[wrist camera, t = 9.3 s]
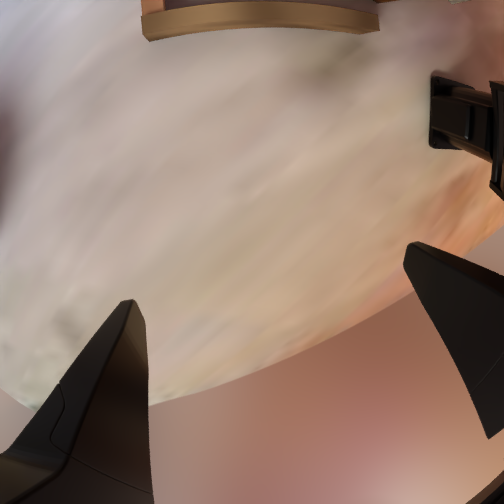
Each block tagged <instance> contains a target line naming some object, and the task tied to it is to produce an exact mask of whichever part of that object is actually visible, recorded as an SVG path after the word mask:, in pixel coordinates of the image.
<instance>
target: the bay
mask: <svg viewBox="0 0 504 504" xmlns="http://www.w3.org/2000/svg"><path fill="white" fill-rule="evenodd" d="M141 6H142V16H141V22H142V33H143V35H144V36H145V38H146V39H147V40H148V41H149V42H151V41H155V40H159V39H164V38H169V37H174V36H180V35H186V34H192V33H199V32H207V31H215V30H225V29H238V28H261V27H286V28H308V29H321V30H331V31H340V32H347V33H354V34H364V33H369V32H375V31H380V29H379V21H378V15H375V14H371V13H367V12H362V11H357V10H352V9H346V8H340V7H334V6H326V5H318V4H309V3H297V2H276V1H248V2H227V3H215V4H206V5H197V6H190V7H184V8H178V9H172V10H167V11H166V5H165V0H141Z"/></svg>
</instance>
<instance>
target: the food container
mask: <svg viewBox="0 0 504 504" xmlns="http://www.w3.org/2000/svg"><path fill="white" fill-rule="evenodd" d="M373 1H374V2H376V3H383V2H390V1H397V0H373ZM448 1H449V2H450V3H451V4H456V3H460V2H465V1H470V0H448Z"/></svg>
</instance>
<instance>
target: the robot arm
mask: <svg viewBox="0 0 504 504" xmlns="http://www.w3.org/2000/svg"><path fill="white" fill-rule="evenodd" d="M489 83H490V88H491V93H492V94H490V93H486V92H482V91H478V90H475V89H474V88H473V87H471V86H468V85H465V84H462V83H459V82H456V81H452V80H449V79H445V78H442V77H438V76H432V77H431V111H430V132H429V146H430V147H432V148H435V149H455V150H465V151H467V152H469V153H471V154H473V155H476V156H478V157H480V158H482V159H484V160H486V161H488V162H490V163H492V173H491V180H490V184H489V187H490V188H491V189H492V190H493V191H494V192H495V193H496V194H497V195H498V196H499V197H500V198H501V199H502V200H503V201H504V82H503V81H489ZM403 267H404V270H405V272H406V274H407V276H408V278H409V280H410V281H411V283H412V285H413V287H414V289H415V291H416V293H417V295H418V297H419V299H420V301H421V303H422V305H423V306H424V308H425V310H426V312H427V313H428V315H429V317H430V318H431V320H432V322H433V323H434V325H435V327H436V329H437V331H438V332H439V334H440V336H441V338H442V340H443V341H444V343H445V345H446V347H447V349H448V351H449V353H450V355H451V357H452V358H453V360H454V362H455V364H456V366H457V368H458V370H459V372H460V374H461V377H462V379H463V381H464V383H465V385H466V387H467V389H468V392H469V394H470V397H471V399H472V401H473V404H474V405H475V408H476V410H477V413H478V415H479V418H480V421H481V423H482V426H483V428H484V431H485V434H486V436H487V438H488V439H490V438H491V437H493V436H494V435H495V434H497V433H498V432H500V431H501V430H502V429H503V428H504V276H503V275H499V274H498V273H496V272H494V271H491V270H489V269H487V268H484V267H482V266H480V265H477V264H475V263H472V262H470V261H468V260H465V259H463V258H460V257H458V256H455V255H453V254H450V253H448V252H445V251H443V250H440V249H437V248H435V247H432V246H430V245H427V244H424V243H422V242H418V241H417V242H412V243H409V244H408V246H407V249H406V253H405V257H404V261H403ZM148 378H149V369H148V355H147V342H146V325H145V320H144V317H143V315H142V313H141V311H140V309H139V307H138V305H137V303H136V301H135V300H133V299H130V300H124V301H121V302H120V303H119V305H118V306H117V307H116V308H115V309H114V311H113V312H112V313H111V314H110V316H109V317H108V318H107V319H106V321H105V322H104V323H103V324H102V326H101V327H100V328H99V329H98V331H97V332H96V333H95V334H94V336H93V337H92V338H91V340H90V341H89V342H88V343H87V345H86V346H85V347H84V349H83V350H82V351H81V353H80V354H79V355H78V357H77V358H76V359H75V361H74V362H73V363H72V365H71V366H70V367H69V369H68V370H67V372H66V373H65V374H64V376H63V377H62V378H61V380H60V381H59V384H57V385H56V387H55V388H54V390H53V391H52V393H51V394H50V395H49V397H48V398H47V399H46V401H45V402H44V404H43V405H42V406H41V408H40V409H39V410H38V411H37V413H36V414H35V415H34V417H33V418H32V419H31V420H30V422H29V423H28V424H27V426H26V427H25V428H24V429H23V431H22V432H21V433H20V434H19V436H18V437H17V438H16V440H15V441H14V442H13V444H12V445H11V446H10V447H9V448H8V449H7V450H6V451H4V452H3V453H1V454H0V504H154V497H153V489H152V478H151V466H150V449H149V422H148ZM466 504H504V471H503V472H502V473H501V474H499V476H497V477H496V478H495V479H494V480H493V481H492V482H491V483H490V484H489V485H488V486H486V487H485V488H484V489H483V490H482V491H481V492H479V493H478V494H477V495H476V496H475V497H473V498H472V499H471V500H470V501H468V502H467V503H466Z"/></svg>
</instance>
